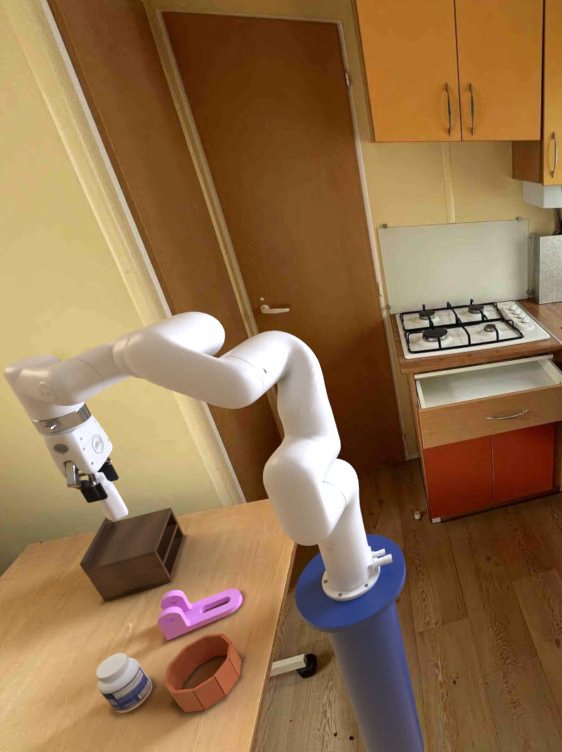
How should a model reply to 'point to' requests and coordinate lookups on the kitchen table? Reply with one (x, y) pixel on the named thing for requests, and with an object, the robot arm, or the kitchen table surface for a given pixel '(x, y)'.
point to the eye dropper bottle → (111, 500)
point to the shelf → (133, 553)
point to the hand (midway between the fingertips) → (104, 489)
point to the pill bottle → (123, 682)
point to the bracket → (194, 611)
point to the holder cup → (210, 688)
